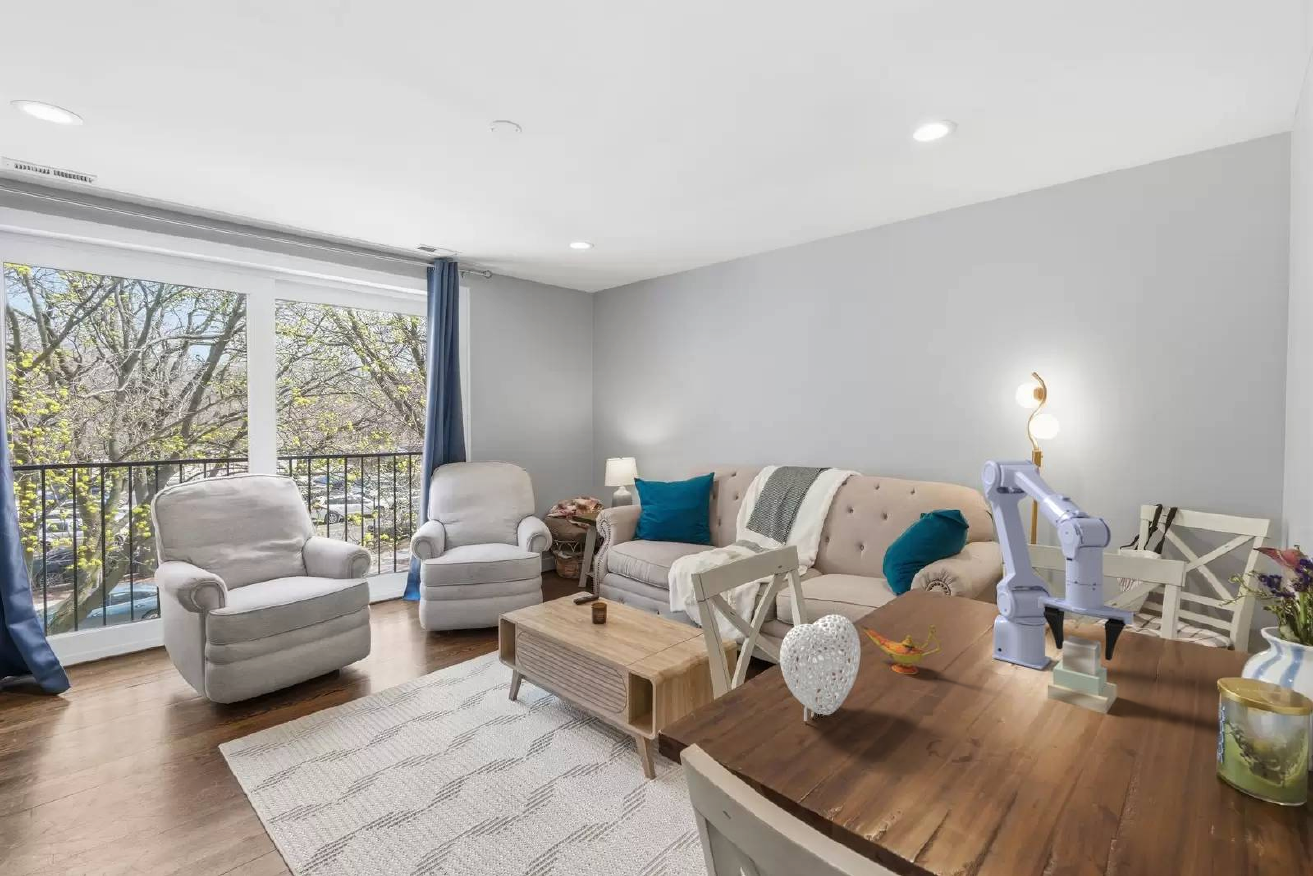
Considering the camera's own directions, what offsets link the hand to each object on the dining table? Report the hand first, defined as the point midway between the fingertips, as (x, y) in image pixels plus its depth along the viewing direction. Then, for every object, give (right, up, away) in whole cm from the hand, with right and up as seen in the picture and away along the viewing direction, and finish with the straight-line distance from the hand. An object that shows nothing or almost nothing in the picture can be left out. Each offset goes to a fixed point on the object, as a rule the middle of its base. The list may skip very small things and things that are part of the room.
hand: (1083, 653), depth 113 cm
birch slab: (0, -9, 0) cm, 9 cm away
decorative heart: (-51, -10, -5) cm, 52 cm away
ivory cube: (0, -3, 0) cm, 3 cm away
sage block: (-1, -6, 0) cm, 6 cm away
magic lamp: (-29, -9, +15) cm, 34 cm away
